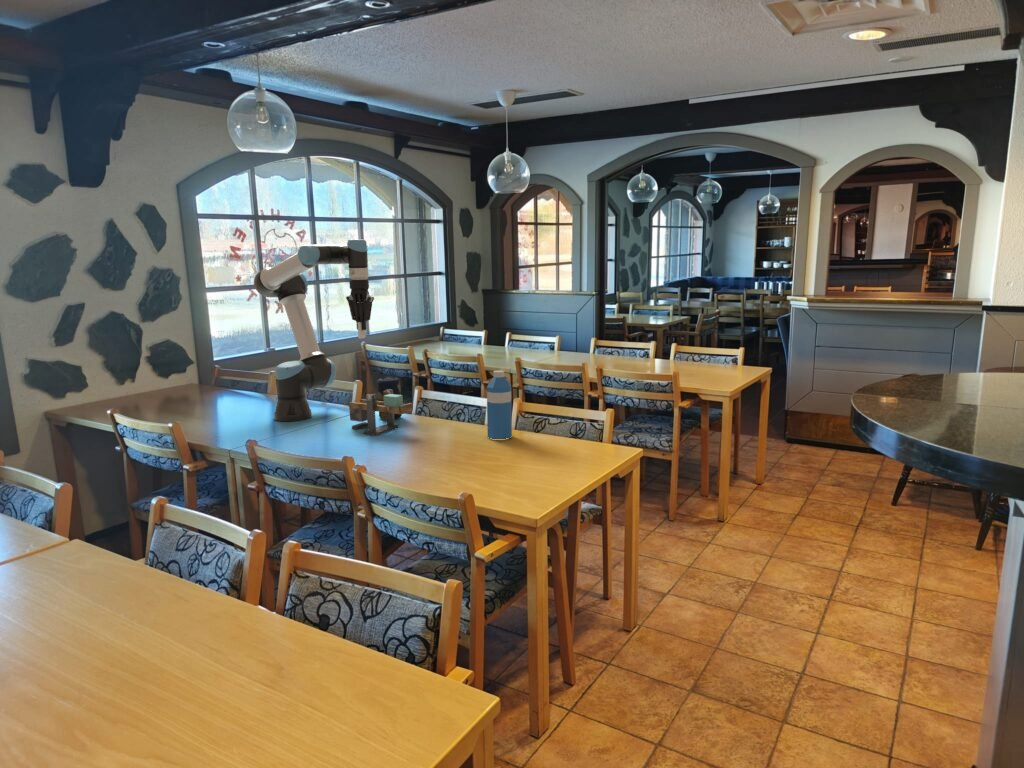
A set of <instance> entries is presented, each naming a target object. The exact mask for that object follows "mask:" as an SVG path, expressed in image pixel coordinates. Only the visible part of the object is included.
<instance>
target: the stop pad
mask: <svg viewBox="0 0 1024 768" xmlns="http://www.w3.org/2000/svg"><path fill="white" fill-rule="evenodd" d="M367 426H368V422H367V421H366V422H365V421H363V422H359V423H357V424H354V425H351V430H357V431H358V430H362V429H365V428H368V427H367Z"/></svg>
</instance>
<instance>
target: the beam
mask: <svg viewBox="0 0 1024 768" xmlns="http://www.w3.org/2000/svg"><path fill="white" fill-rule="evenodd" d="M388 394H389V392H388V391H383V395H384V396H385V395H388ZM372 395H374V400H375V412H378V413H379V412H386V413H394V414H402V415H403V414H407V413H411V412H413V411H414V405H413V404H414V403H413V402H408V403H403V405H402V406H399V408H396V407H387V406H384V402H382V401H378V396H377V393H373V394H372ZM348 404H349V405H348V407H349V420H350V421H353V422H359V423H363V422H365V421H366V422H367V403H366V399H365V398H361V399H359V402H354V401H349V402H348Z"/></svg>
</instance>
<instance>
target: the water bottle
mask: <svg viewBox="0 0 1024 768" xmlns="http://www.w3.org/2000/svg"><path fill="white" fill-rule="evenodd" d="M492 373H493V374H492V376H493V377H492V378H491V380H490V381H489V383H488V384H487V386H486V409H487V410H486V414H487V419H486V420H487V421H486V422H487V426H486V427H487V438H488V437H489V438H492V439H506V438H510V437H511V436H512V434H513V433H512V432H513V431H512V430H513V429H512V426H513V425H512V419H513V418H512V417H513V416H512V415H513V414H512V384H511V383H510V381H509V380H508V379H507V378H506V376H505V370H502V369H501V370H493V371H492ZM512 437H513V436H512ZM512 437H511V438H512Z"/></svg>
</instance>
